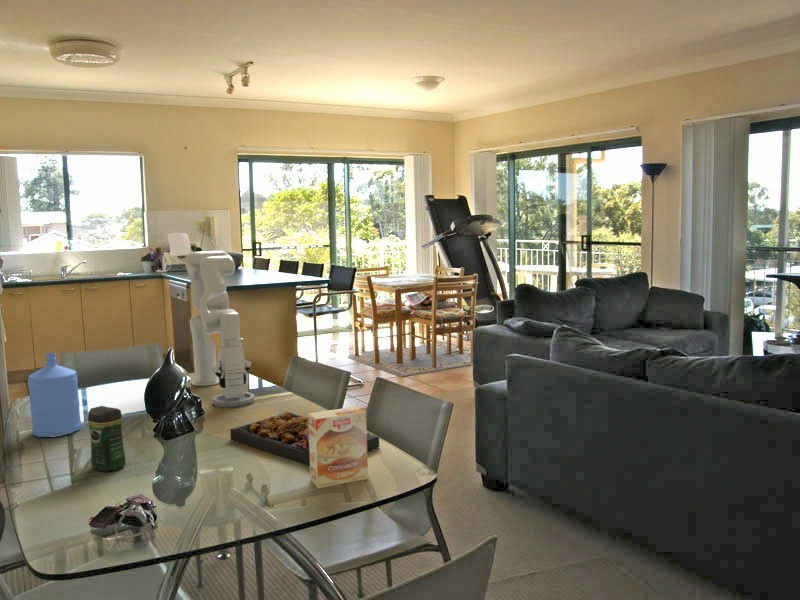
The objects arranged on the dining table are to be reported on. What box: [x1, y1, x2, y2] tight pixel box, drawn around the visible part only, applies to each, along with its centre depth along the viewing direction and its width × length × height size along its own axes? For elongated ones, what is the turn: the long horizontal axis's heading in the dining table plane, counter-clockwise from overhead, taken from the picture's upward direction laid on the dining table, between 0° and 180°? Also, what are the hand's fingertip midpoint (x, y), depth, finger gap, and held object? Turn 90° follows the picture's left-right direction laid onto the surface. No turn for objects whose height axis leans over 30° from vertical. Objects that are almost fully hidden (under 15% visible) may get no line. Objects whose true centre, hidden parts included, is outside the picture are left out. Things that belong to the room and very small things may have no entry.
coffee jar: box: [87, 405, 126, 472], centre depth 211 cm, size 10×8×19 cm
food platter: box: [229, 411, 380, 467], centre depth 229 cm, size 45×25×10 cm, turn 48°
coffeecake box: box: [307, 405, 369, 489], centre depth 196 cm, size 15×7×20 cm, turn 115°
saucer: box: [212, 391, 255, 409], centre depth 285 cm, size 16×16×2 cm
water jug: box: [27, 352, 82, 438], centre depth 249 cm, size 16×16×28 cm
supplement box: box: [222, 365, 245, 398], centre depth 284 cm, size 7×7×13 cm
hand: (233, 385), depth 284 cm, fingers closed on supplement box, 8 cm apart
